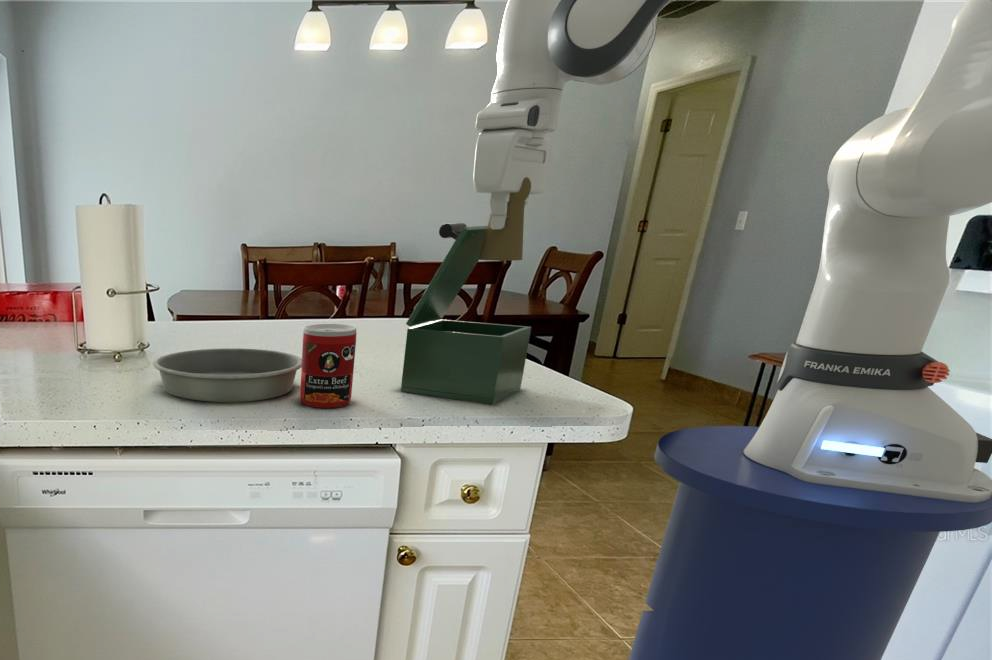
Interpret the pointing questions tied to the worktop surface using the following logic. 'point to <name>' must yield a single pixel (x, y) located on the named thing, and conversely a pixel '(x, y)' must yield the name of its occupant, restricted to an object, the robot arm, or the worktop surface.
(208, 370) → the cake pan
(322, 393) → the canned food
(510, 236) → the tan pawn
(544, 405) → the worktop surface
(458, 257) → the bin lid
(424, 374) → the waste bin
